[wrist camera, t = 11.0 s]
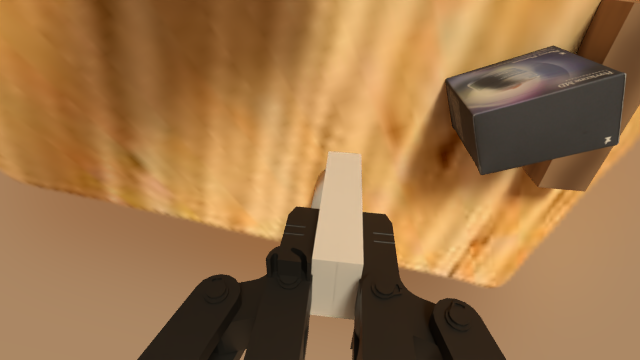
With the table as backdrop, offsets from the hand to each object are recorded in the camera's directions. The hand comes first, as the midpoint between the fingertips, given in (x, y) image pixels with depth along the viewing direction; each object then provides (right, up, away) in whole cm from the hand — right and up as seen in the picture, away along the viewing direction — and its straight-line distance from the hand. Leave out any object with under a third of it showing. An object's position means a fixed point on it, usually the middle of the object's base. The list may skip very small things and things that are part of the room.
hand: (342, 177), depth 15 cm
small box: (+18, +10, +19) cm, 28 cm away
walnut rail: (+26, +9, +18) cm, 33 cm away
